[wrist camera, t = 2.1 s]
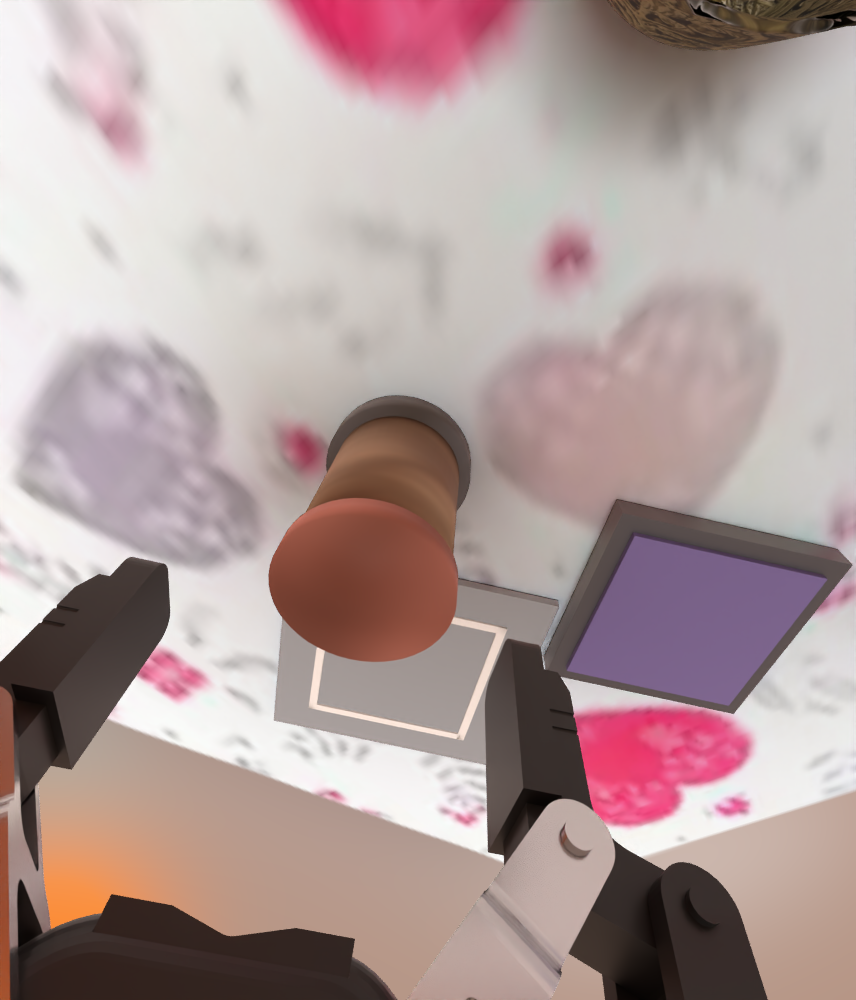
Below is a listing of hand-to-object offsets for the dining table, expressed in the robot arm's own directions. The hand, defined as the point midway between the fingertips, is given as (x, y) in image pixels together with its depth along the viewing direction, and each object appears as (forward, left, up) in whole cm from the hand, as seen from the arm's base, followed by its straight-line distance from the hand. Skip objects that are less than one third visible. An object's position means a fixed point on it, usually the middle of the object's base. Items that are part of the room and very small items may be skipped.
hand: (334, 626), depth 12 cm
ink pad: (-13, +4, -9) cm, 17 cm away
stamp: (0, 0, -9) cm, 9 cm away
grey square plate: (-2, +11, -9) cm, 15 cm away
